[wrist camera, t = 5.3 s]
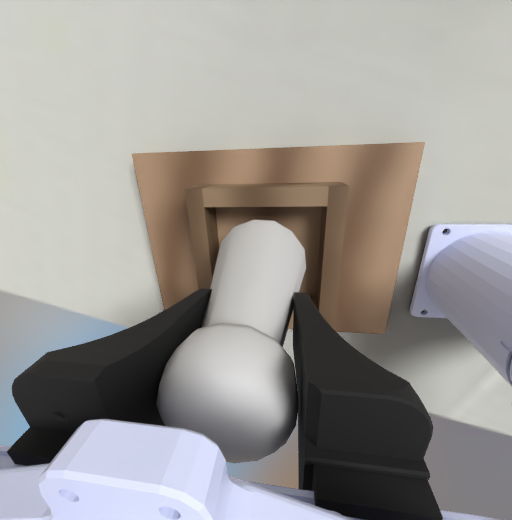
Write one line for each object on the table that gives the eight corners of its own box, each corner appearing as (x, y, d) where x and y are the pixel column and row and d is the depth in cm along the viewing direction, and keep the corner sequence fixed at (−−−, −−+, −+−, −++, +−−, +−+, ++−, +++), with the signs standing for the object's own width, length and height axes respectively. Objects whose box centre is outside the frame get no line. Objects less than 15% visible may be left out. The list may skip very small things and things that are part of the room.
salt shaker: (261, 192, 17) (196, 308, 5) (320, 248, 18) (382, 448, 6) (210, 250, 19) (84, 422, 7) (266, 296, 20) (234, 508, 8)
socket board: (416, 142, 17) (447, 139, 13) (380, 325, 22) (395, 355, 19) (140, 153, 19) (108, 153, 16) (172, 313, 25) (153, 338, 22)
